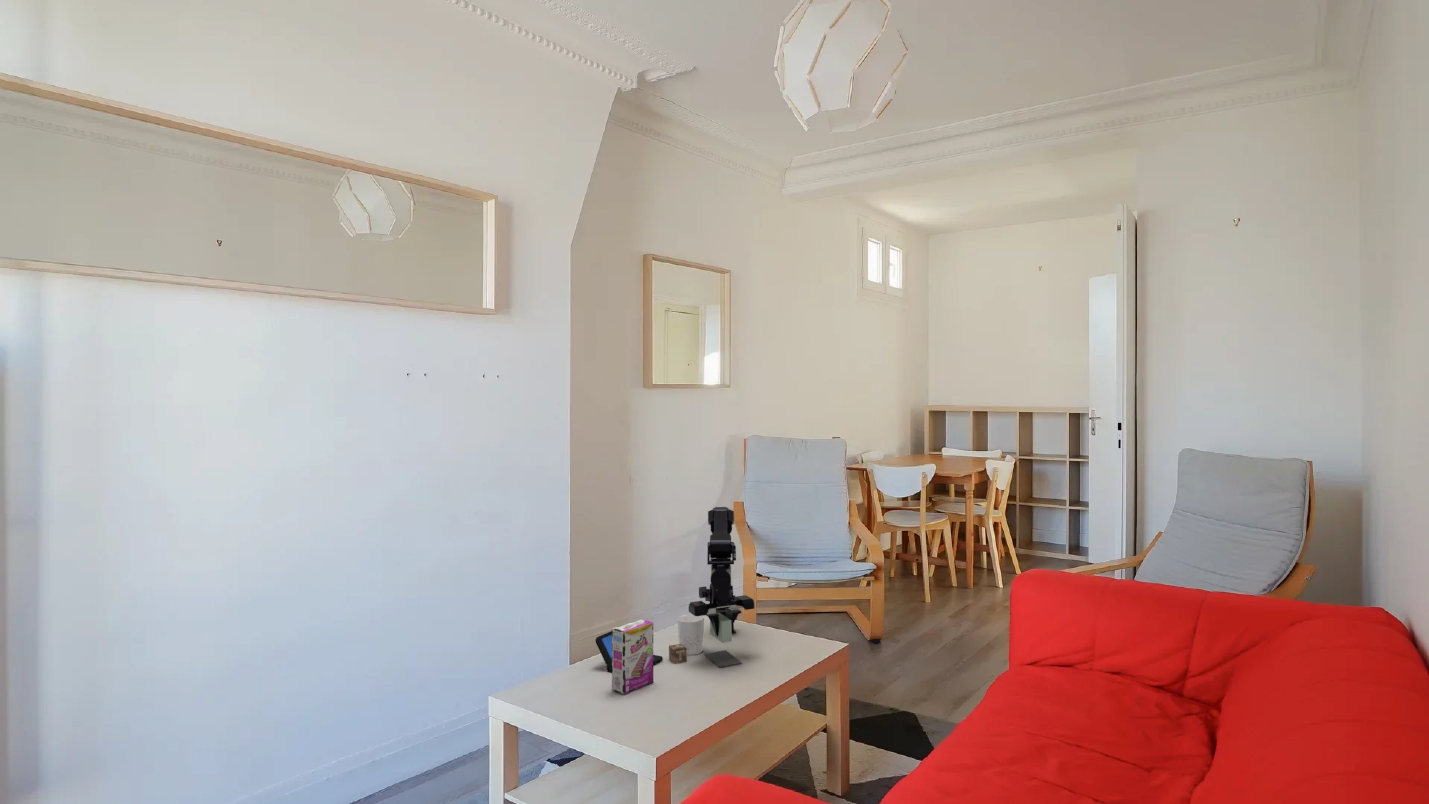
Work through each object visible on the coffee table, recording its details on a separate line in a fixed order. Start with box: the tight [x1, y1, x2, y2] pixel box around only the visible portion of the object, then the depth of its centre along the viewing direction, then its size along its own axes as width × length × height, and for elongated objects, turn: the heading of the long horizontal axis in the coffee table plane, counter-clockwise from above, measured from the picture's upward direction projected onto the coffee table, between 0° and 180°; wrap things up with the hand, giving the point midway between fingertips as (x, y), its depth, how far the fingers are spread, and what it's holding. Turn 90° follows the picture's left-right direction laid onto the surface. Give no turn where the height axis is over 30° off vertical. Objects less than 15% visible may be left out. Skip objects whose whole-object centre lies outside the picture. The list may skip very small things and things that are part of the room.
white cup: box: [677, 614, 705, 656], centre depth 229 cm, size 8×8×10 cm
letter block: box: [668, 643, 688, 664], centre depth 221 cm, size 4×4×4 cm
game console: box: [595, 630, 664, 673], centre depth 218 cm, size 16×14×9 cm
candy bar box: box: [611, 619, 654, 695], centre depth 201 cm, size 11×5×16 cm, turn 141°
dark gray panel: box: [703, 649, 743, 669], centre depth 221 cm, size 7×12×1 cm, turn 22°
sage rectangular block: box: [709, 613, 733, 644], centre depth 222 cm, size 9×3×6 cm, turn 22°
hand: (722, 635), depth 221 cm, fingers closed on sage rectangular block, 3 cm apart
